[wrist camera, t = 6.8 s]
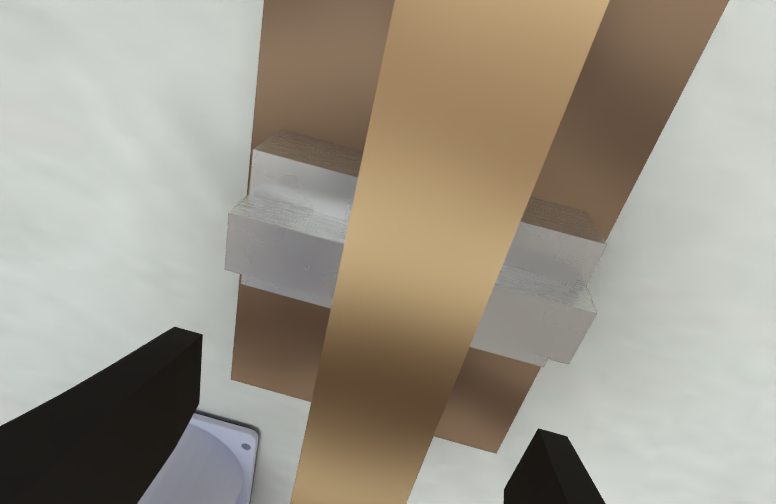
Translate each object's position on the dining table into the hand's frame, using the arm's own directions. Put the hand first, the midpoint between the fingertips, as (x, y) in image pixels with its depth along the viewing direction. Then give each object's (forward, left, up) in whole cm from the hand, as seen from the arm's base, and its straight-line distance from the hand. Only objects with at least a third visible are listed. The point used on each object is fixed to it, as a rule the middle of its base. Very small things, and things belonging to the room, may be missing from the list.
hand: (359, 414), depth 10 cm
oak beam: (0, 0, -5) cm, 5 cm away
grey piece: (0, 0, -10) cm, 10 cm away
